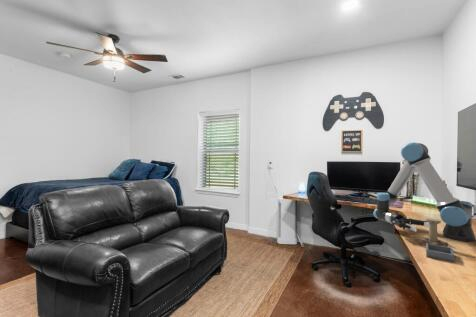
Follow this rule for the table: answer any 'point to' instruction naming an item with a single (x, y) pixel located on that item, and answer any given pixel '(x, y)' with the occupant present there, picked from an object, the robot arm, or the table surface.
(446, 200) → the robot arm
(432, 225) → the handle
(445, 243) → the collar
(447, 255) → the tray
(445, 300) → the table surface
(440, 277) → the table surface
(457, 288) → the table surface
